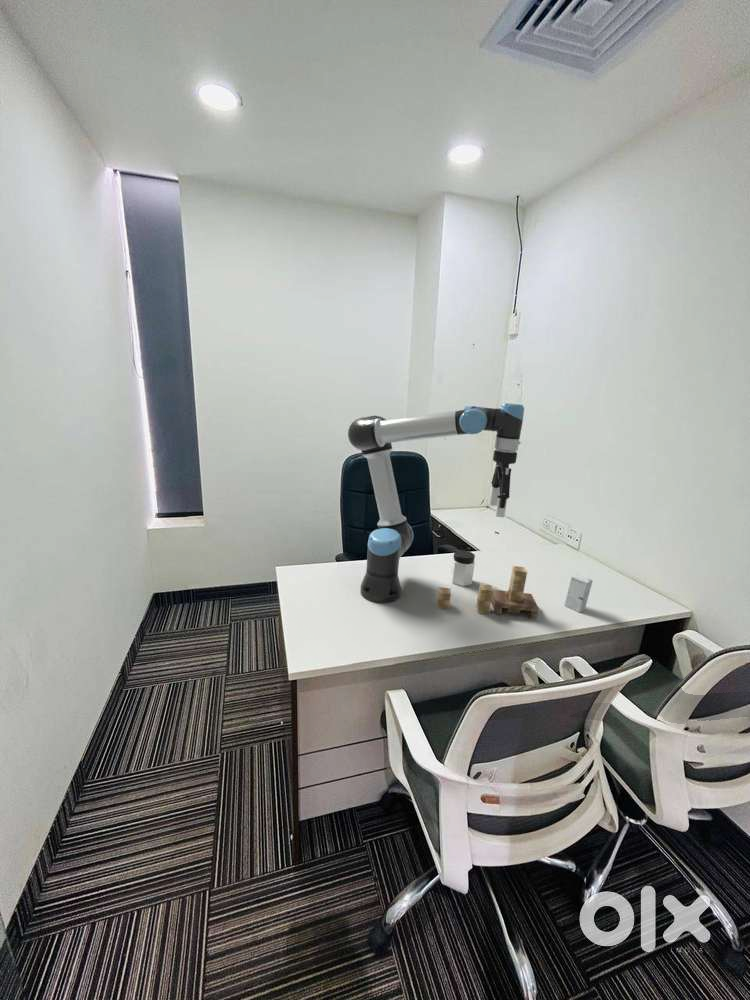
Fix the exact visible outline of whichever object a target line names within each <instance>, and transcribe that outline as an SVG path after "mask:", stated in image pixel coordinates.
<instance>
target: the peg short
mask: <svg viewBox="0 0 750 1000" xmlns="http://www.w3.org/2000/svg"><path fill="white" fill-rule="evenodd" d="M451 590H452V589H451V588H448V587H438V593H437V602H436V604H437V609H444V610H445V609H447V610H449V609H450V604H451V598H452V592H451Z"/></svg>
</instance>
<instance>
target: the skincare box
mask: <svg viewBox="0 0 750 1000" xmlns="http://www.w3.org/2000/svg"><path fill="white" fill-rule="evenodd" d="M592 585H593V580H592V579H590V578H589V577H586V576H584V575H581V574H578V573H576V574H574V575H572V576H571V578H570V581H569V586H568V589H567V592H566V593H567V594H566V596H565V601H564V606H565V607H567V608H569V609H571V610H573V611H575V612H577V613H581V612H583V611H585V610H586V607H587V603H588V601H589V600H588V599H589V597H590V592H591V588H592Z"/></svg>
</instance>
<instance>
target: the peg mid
mask: <svg viewBox="0 0 750 1000" xmlns="http://www.w3.org/2000/svg"><path fill="white" fill-rule="evenodd" d="M493 590H494V589H493V587H492V585H490V584H482V583H479V588H478V593H477V598H476V599H477V600H476V601H477V602H476V607H475V608H476V610H477V611H476V612H477V613H480V614H487V615H488V614H490V610H491V606H492V603H491V600H492V594H493Z"/></svg>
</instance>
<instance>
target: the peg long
mask: <svg viewBox="0 0 750 1000" xmlns="http://www.w3.org/2000/svg"><path fill="white" fill-rule="evenodd" d="M511 569H512V570H511V575H510V576H511V577H510V580H509V587H508V591H509V592H508V597H507V598H508V601H512V602H520V603H522V598H523V593H525V592H524V591H525V585H526V580H527V575H528V571H527V569H526V568H525V566H516V565H512V568H511ZM506 611H507V612H508V613H515V614H520V613H521V610H518V609H510V608H506Z"/></svg>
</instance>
